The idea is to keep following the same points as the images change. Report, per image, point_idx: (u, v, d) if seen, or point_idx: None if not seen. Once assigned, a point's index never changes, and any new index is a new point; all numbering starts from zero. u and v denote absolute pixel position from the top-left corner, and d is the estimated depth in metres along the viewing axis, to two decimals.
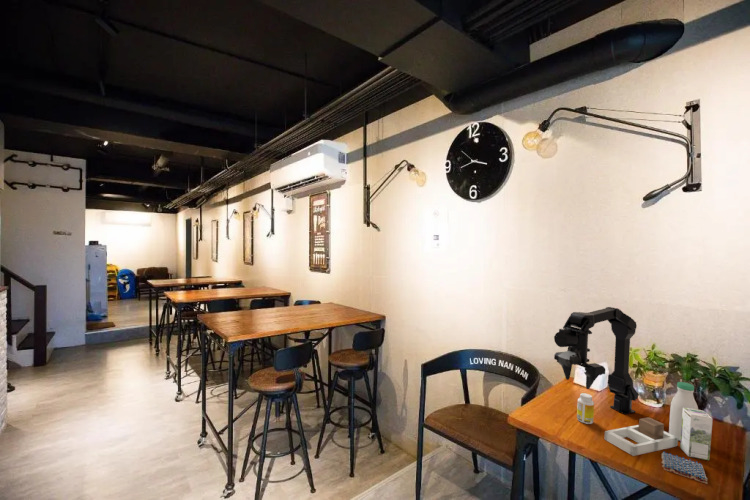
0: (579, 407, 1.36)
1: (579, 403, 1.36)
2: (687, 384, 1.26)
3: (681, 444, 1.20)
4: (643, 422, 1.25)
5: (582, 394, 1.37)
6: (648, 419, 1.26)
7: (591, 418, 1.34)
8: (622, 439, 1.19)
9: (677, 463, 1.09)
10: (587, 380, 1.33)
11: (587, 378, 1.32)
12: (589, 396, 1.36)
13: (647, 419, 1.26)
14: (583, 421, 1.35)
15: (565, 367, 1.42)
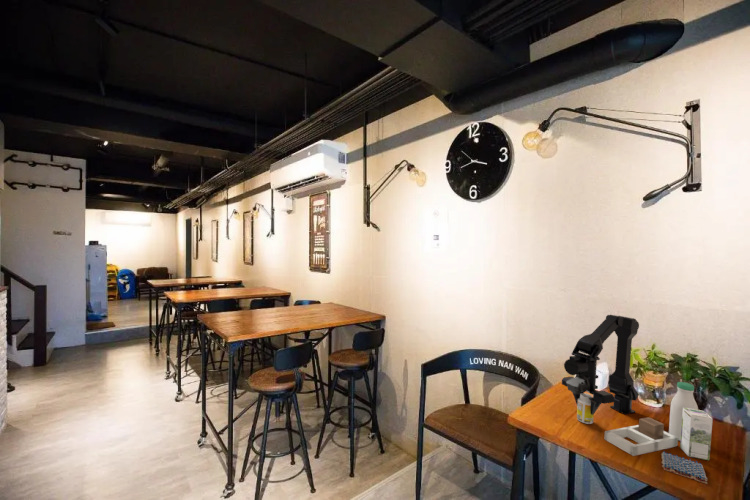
0: (579, 407, 1.36)
1: (579, 403, 1.36)
2: (687, 384, 1.26)
3: (681, 444, 1.20)
4: (643, 422, 1.25)
5: (582, 394, 1.37)
6: (648, 419, 1.26)
7: (591, 418, 1.34)
8: (622, 439, 1.19)
9: (677, 463, 1.09)
10: (591, 406, 1.33)
11: (592, 404, 1.33)
12: (589, 396, 1.36)
13: (647, 419, 1.26)
14: (583, 421, 1.35)
15: (576, 394, 1.40)
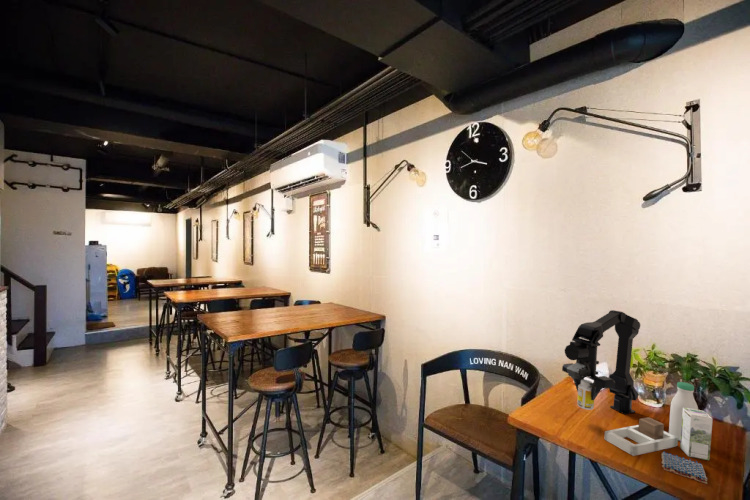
0: (580, 393, 1.36)
1: (580, 389, 1.36)
2: (687, 384, 1.26)
3: (681, 444, 1.20)
4: (643, 422, 1.25)
5: (583, 380, 1.37)
6: (648, 419, 1.26)
7: (592, 404, 1.34)
8: (622, 439, 1.19)
9: (677, 463, 1.09)
10: (592, 391, 1.33)
11: (592, 389, 1.33)
12: (590, 382, 1.36)
13: (647, 419, 1.26)
14: (584, 407, 1.35)
15: (577, 381, 1.39)
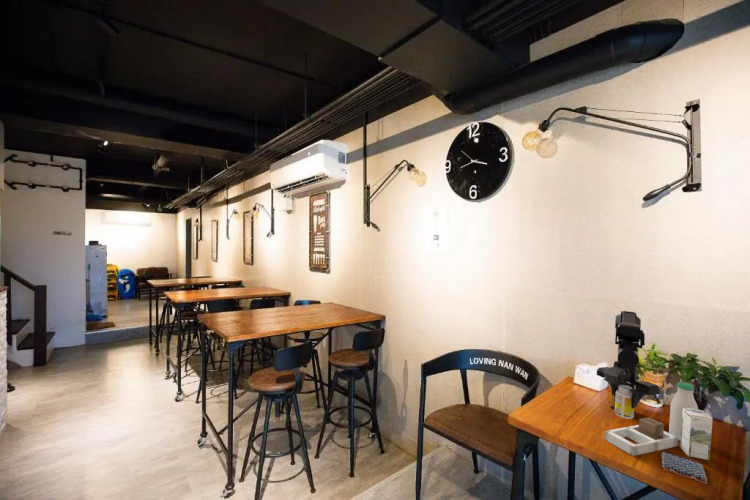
0: (618, 400, 1.23)
1: (618, 395, 1.23)
2: (687, 384, 1.26)
3: (681, 444, 1.20)
4: (643, 422, 1.25)
5: (621, 386, 1.24)
6: (648, 419, 1.26)
7: (632, 412, 1.21)
8: (622, 439, 1.19)
9: (677, 463, 1.09)
10: (633, 398, 1.20)
11: (633, 396, 1.19)
12: (629, 388, 1.22)
13: (647, 419, 1.26)
14: (623, 416, 1.21)
15: (614, 386, 1.26)
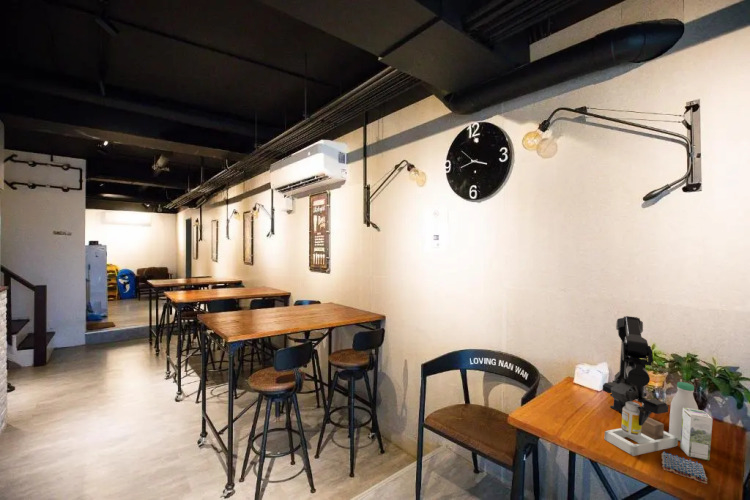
0: (625, 417, 1.21)
1: (625, 412, 1.21)
2: (687, 384, 1.26)
3: (681, 444, 1.20)
4: None
5: (628, 402, 1.21)
6: (648, 419, 1.26)
7: (639, 430, 1.19)
8: (622, 439, 1.19)
9: (677, 463, 1.09)
10: (640, 416, 1.18)
11: (641, 413, 1.17)
12: (636, 405, 1.20)
13: (647, 419, 1.26)
14: (630, 433, 1.19)
15: (621, 402, 1.24)
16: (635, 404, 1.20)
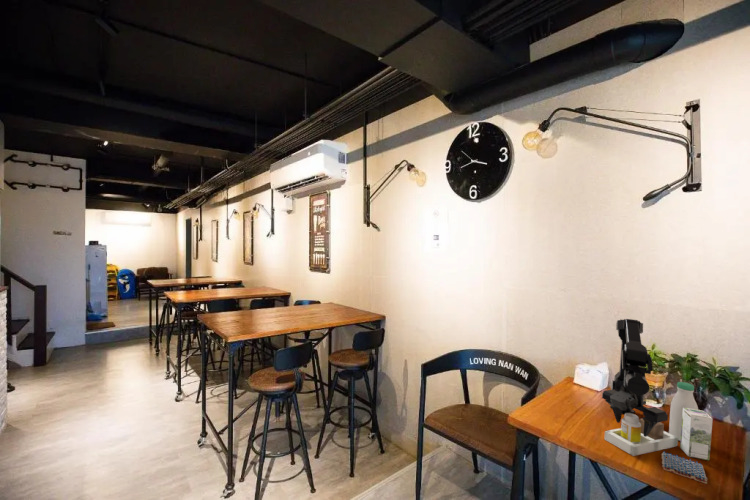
0: (624, 429, 1.21)
1: (624, 424, 1.21)
2: (687, 384, 1.26)
3: (681, 444, 1.20)
4: (643, 422, 1.25)
5: (627, 414, 1.22)
6: None
7: (638, 442, 1.19)
8: (622, 439, 1.19)
9: (677, 463, 1.09)
10: (645, 427, 1.16)
11: (646, 424, 1.15)
12: (635, 416, 1.20)
13: None
14: None
15: (616, 408, 1.25)
16: (634, 416, 1.21)
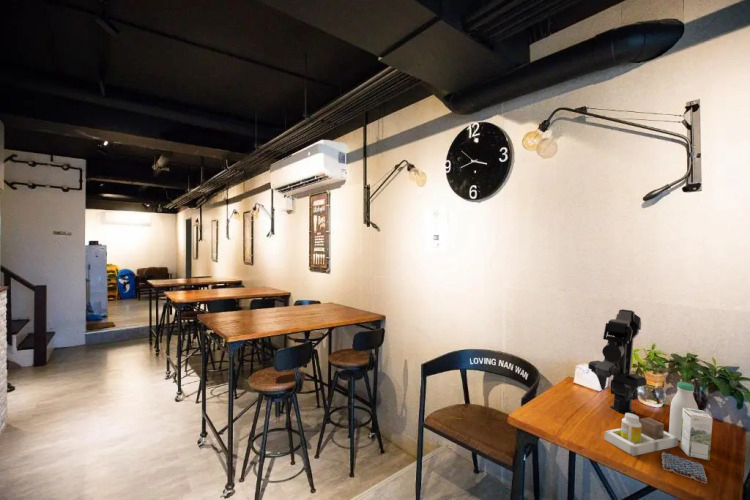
0: (624, 429, 1.21)
1: (624, 424, 1.21)
2: (687, 384, 1.26)
3: (681, 444, 1.20)
4: (643, 422, 1.25)
5: (627, 414, 1.22)
6: (648, 419, 1.26)
7: (638, 442, 1.19)
8: (622, 439, 1.19)
9: (677, 463, 1.09)
10: (626, 392, 1.27)
11: (627, 389, 1.27)
12: (636, 417, 1.20)
13: (647, 419, 1.26)
14: None
15: (601, 377, 1.37)
16: (634, 416, 1.21)
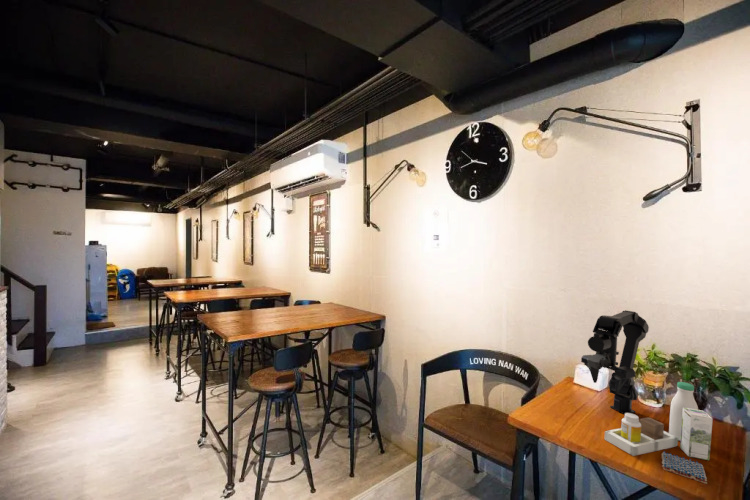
0: (624, 429, 1.21)
1: (624, 424, 1.21)
2: (687, 384, 1.26)
3: (681, 444, 1.20)
4: (643, 422, 1.25)
5: (627, 414, 1.22)
6: (648, 419, 1.26)
7: (638, 442, 1.19)
8: (622, 439, 1.19)
9: (677, 463, 1.09)
10: (616, 383, 1.33)
11: (617, 381, 1.33)
12: (635, 416, 1.20)
13: (647, 419, 1.26)
14: None
15: (593, 370, 1.43)
16: (634, 416, 1.21)
